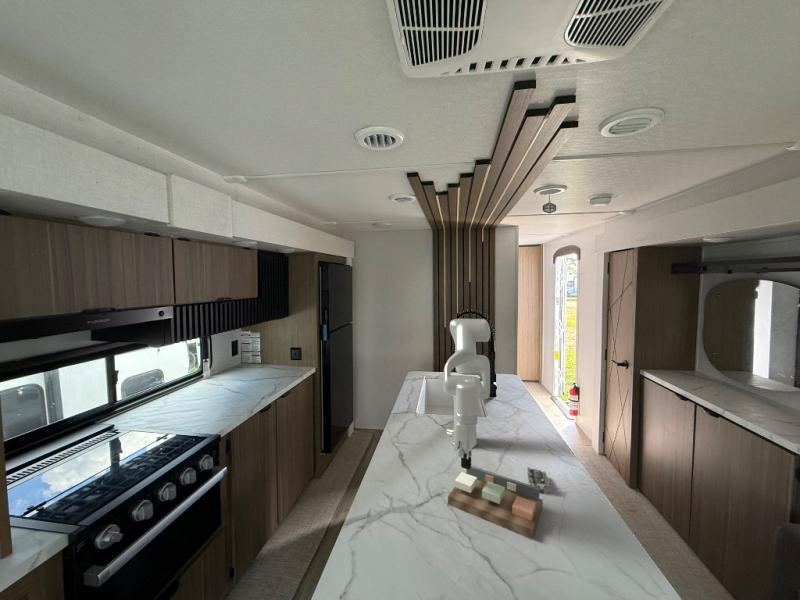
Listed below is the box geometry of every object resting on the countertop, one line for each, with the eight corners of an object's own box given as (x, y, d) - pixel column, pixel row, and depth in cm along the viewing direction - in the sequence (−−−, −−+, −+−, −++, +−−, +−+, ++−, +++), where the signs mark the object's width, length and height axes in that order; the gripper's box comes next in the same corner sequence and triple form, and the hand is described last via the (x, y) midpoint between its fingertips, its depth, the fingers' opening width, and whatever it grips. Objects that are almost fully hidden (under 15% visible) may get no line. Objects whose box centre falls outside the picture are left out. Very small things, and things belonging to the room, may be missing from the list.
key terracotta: (512, 513, 105) (512, 506, 105) (516, 502, 110) (516, 495, 110) (531, 521, 101) (531, 513, 101) (535, 509, 106) (535, 502, 106)
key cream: (454, 486, 116) (454, 480, 116) (461, 478, 121) (461, 472, 121) (470, 493, 112) (470, 486, 112) (476, 483, 117) (477, 477, 117)
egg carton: (550, 495, 118) (550, 485, 118) (528, 491, 120) (528, 481, 120) (547, 478, 128) (547, 468, 128) (526, 474, 131) (527, 465, 130)
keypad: (447, 504, 114) (447, 485, 113) (465, 480, 127) (465, 463, 126) (532, 539, 98) (532, 517, 98) (542, 508, 111) (542, 488, 111)
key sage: (481, 497, 110) (482, 490, 110) (487, 487, 115) (487, 481, 115) (499, 504, 107) (499, 497, 107) (504, 493, 112) (505, 487, 112)
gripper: (464, 408, 123) (464, 454, 124) (447, 422, 111) (447, 474, 112) (484, 412, 119) (483, 460, 120) (468, 428, 106) (468, 482, 108)
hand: (466, 467), depth 116 cm, fingers closed
